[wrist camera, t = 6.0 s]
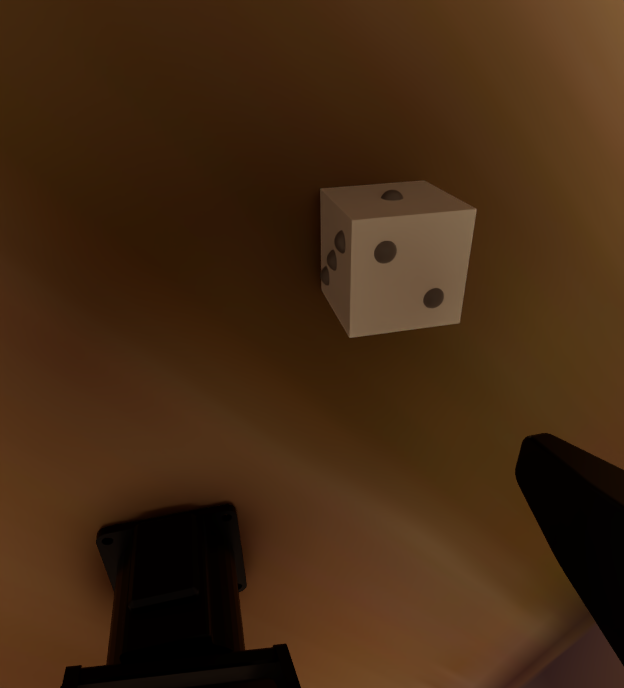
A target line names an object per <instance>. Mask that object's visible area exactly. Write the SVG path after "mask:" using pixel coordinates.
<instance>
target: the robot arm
mask: <svg viewBox="0 0 624 688" xmlns="http://www.w3.org/2000/svg"><path fill="white" fill-rule="evenodd" d="M515 475H516V480H517V483H518V485H519V487H520V489H521V491H522V493H523V495H524V497H525V499H526V501H527V503H528V505H529V507H530V509H531V511H532V513H533V515H534V517H535V518H536V520H537V522H538V524H539V526H540V528H541V530H542V532H543V534H544V536H545V538H546V540H547V542H548V544H549V546H550V548H551V550H552V552H553V554H554V556H555V557H556V559H557V561H558V563H559V564H560V566H561V568H562V569H563V571H564V573H565V574H566V576H567V577H568V579H569V581H570V582H571V584H572V585H573V587H574V588H575V590H576V592H577V593H578V595H579V596H580V598H581V600H582V601H583V603H584V604H585V606H586V607H587V609H588V611H589V612H590V614H591V615H592V617H593V618H594V620H595V622H596V623H597V625H598V626H599V628H600V630H601V631H602V633H603V634H604V636H605V637H606V639H607V640H608V642H609V644H610V645H611V647H612V649H613V650H614V652H615V653H616V655H617V656H618V658H619V660H620V661H621V663H622V664H623V666H624V470H623V469H621V468H619V467H617V466H615V465H613V464H610V463H608V462H606V461H604V460H602V459H600V458H598V457H596V456H594V455H592V454H590V453H588V452H586V451H584V450H582V449H580V448H578V447H576V446H574V445H572V444H570V443H568V442H566V441H564V440H562V439H560V438H558V437H556V436H554V435H551V434H548V433H541V434H536V435H531V436H527V437H525V439H524V440H523V442H522V445H521V449H520V453H519V456H518V460H517V464H516V468H515ZM225 514H228V515H225ZM107 537H110V538H107ZM96 544H97V547H98V549H99V552H100V555H101V557H102V560H103V563H104V566H105V568H106V571H107V574H108V576H109V579H110V582H111V585H112V587H113V590H114V602H113V610H112V619H111V628H110V637H109V646H108V655H107V663H106V665H104V666H94V667H85V668H82V665H78V666H69V667H66V670H65V674H64V679H63V683H62V686H61V687H60V688H301V687H300V684H299V680H298V677H297V674H296V671H295V668H294V665H293V662H292V659H291V656H290V653H289V650H288V647H287V644H277V645H273V647H272V648H262V649H253V650H245V644H244V635H243V627H242V618H241V609H240V600H239V592H241V591H243V590H244V589H245V588H246V586H247V584H246V576H245V569H244V562H243V555H242V548H241V541H240V534H239V527H238V520H237V513H236V508H235V507H234V506H233V505H230V504H225V505H220V506H214V507H209V508H204V509H199V510H193V511H188V512H183V513H178V514H172V515H167V516H162V517H157V518H151V519H146V520H141V521H136V522H130V523H125V524H120V525H115V526H109V527H105V528H102V529H101V530H99V531H98V533H97V539H96Z"/></svg>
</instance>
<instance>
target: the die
mask: <svg viewBox="0 0 624 688" xmlns="http://www.w3.org/2000/svg"><path fill="white" fill-rule="evenodd" d="M476 211H477V209H476V208H474V207H472V206H470V205H469V204H467V203H465V202H463V201H461V200H459V199H458V198H456V197H454V196H452V195H450V194H448V193H447V192H445V191H443V190H441V189H439V188H437V187H436V186H434V185H432V184H430V183H428V182H426V181H425V180H422V181H409V182H396V183H383V184H371V185H358V186H345V187H332V188H320V213H321V273H320V278H321V290H322V292H323V294H324V296H325V297H326V299H327V301H328V302H329V304H330V306H331V307H332V309H333V311H334V313H335V314H336V316H337V318H338V319H339V321H340V323H341V324H342V326H343V328H344V330H345V331H346V333H347V335H348V336H349V338H353V337H361V336H368V335H376V334H383V333H390V332H398V331H405V330H412V329H420V328H427V327H435V326H442V325H449V324H457V323H460V317H461V311H462V304H463V297H464V291H465V284H466V277H467V271H468V264H469V257H470V251H471V244H472V237H473V231H474V224H475V217H476Z"/></svg>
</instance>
